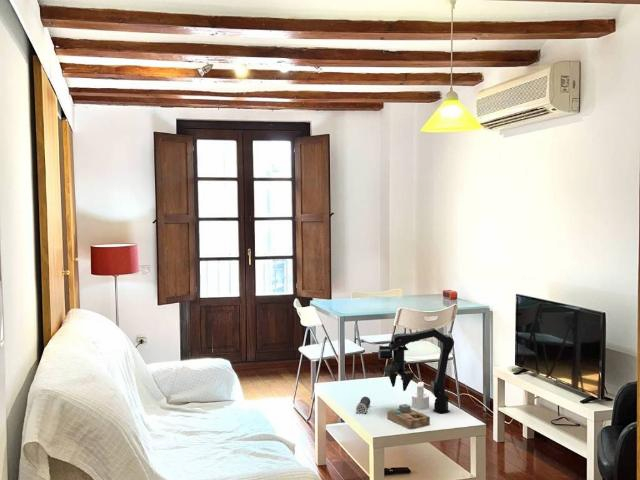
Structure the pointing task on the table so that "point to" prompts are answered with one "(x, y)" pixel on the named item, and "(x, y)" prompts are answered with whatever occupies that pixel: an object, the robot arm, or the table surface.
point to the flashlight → (363, 405)
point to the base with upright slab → (420, 398)
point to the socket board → (409, 419)
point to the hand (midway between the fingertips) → (398, 388)
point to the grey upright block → (404, 408)
